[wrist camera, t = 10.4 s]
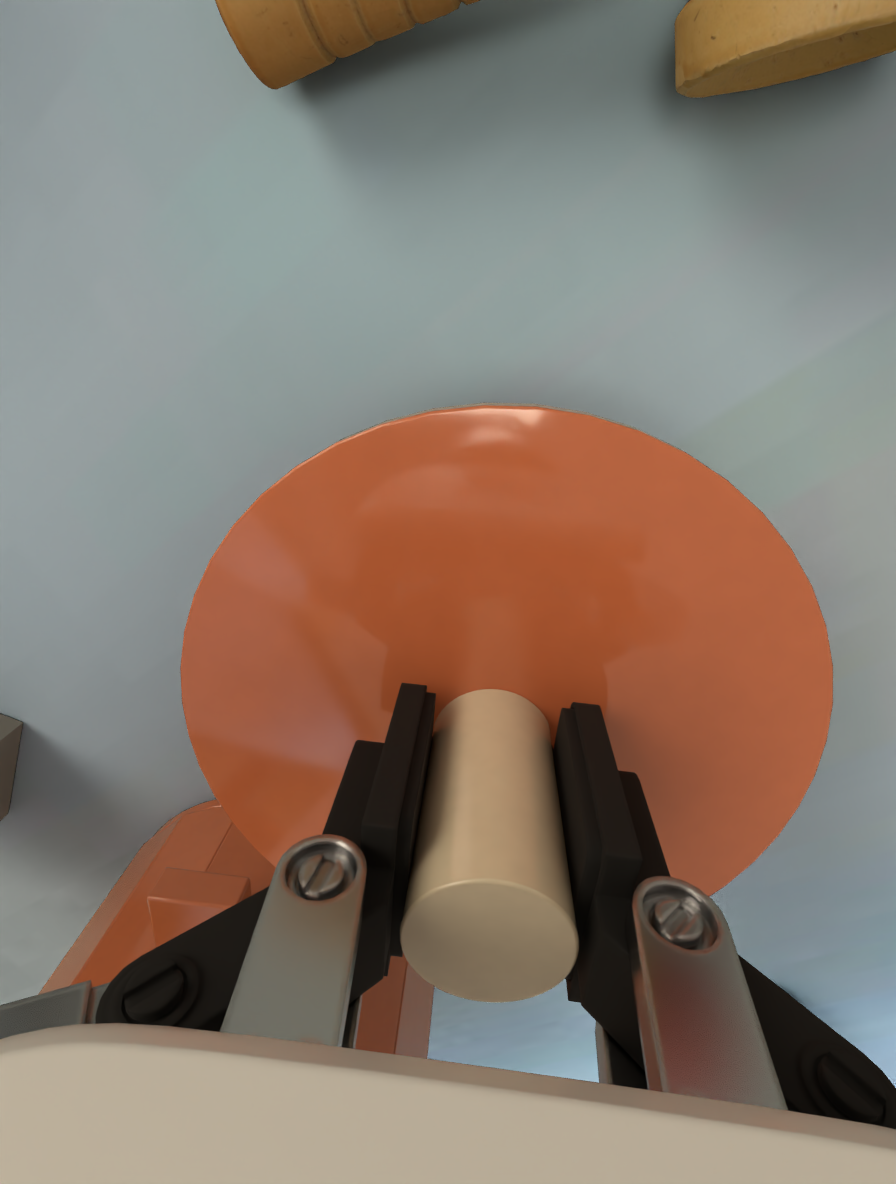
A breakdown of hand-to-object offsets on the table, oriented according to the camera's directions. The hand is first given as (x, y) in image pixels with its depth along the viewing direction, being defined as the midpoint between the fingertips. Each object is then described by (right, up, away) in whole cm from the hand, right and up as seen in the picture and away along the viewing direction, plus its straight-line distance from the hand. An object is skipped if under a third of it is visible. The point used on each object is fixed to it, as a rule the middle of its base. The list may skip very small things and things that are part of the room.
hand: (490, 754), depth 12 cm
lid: (0, 0, +1) cm, 1 cm away
